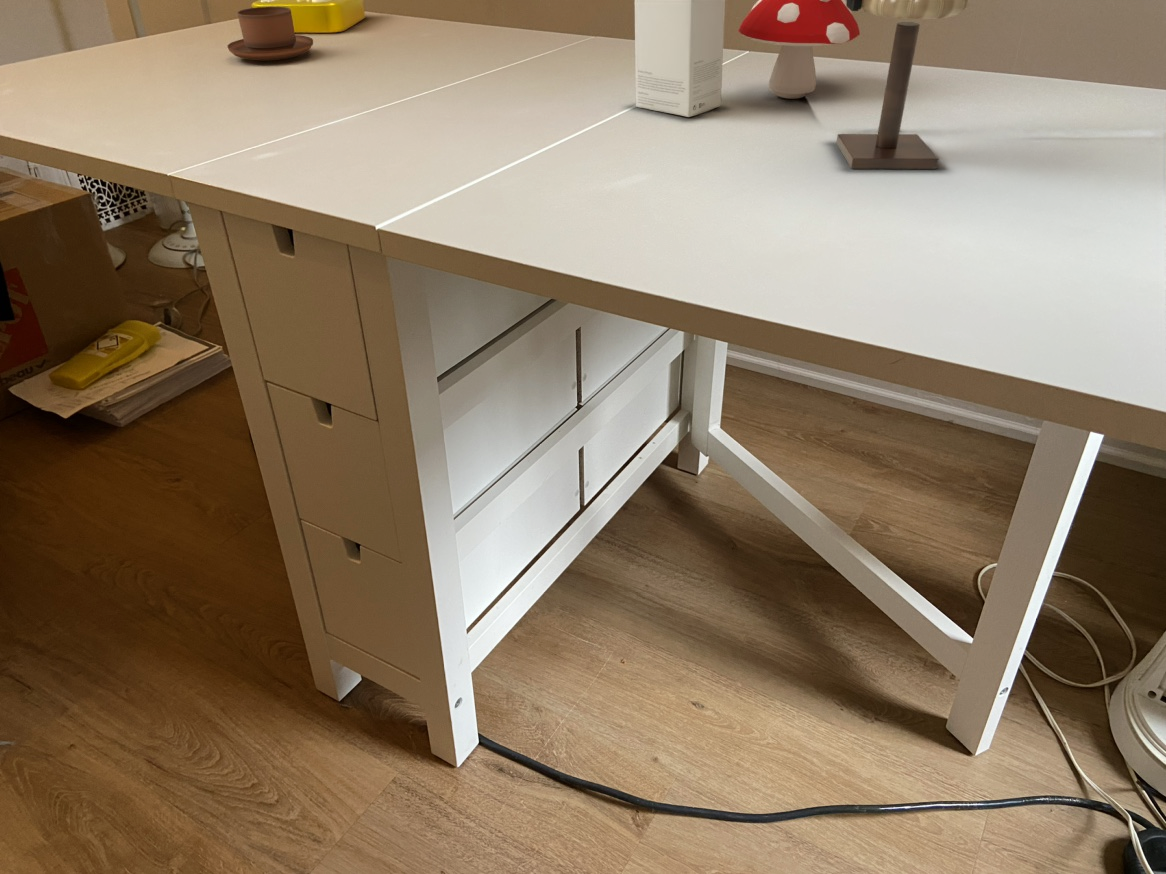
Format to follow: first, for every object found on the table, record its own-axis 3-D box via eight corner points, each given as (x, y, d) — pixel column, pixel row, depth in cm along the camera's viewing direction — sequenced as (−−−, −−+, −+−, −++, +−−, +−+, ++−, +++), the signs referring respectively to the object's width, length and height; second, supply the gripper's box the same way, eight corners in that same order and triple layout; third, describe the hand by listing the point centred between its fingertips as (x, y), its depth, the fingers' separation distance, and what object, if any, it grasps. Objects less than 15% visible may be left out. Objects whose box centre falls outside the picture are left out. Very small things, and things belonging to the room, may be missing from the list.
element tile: (368, 17, 154) (364, -14, 152) (341, 33, 142) (336, 0, 139) (286, 16, 156) (280, -14, 153) (252, 33, 144) (245, 1, 141)
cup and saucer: (216, 57, 129) (205, 11, 125) (291, 45, 135) (283, 1, 132) (252, 70, 121) (242, 21, 118) (330, 56, 128) (322, 10, 124)
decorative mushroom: (747, 79, 113) (758, -54, 104) (856, 87, 109) (878, -50, 100) (721, 106, 102) (732, -39, 94) (841, 116, 98) (864, -34, 90)
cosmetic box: (721, 108, 102) (732, -44, 93) (686, 120, 98) (694, -38, 89) (665, 96, 107) (671, -50, 98) (630, 107, 103) (632, -44, 94)
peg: (915, 143, 90) (941, 15, 83) (936, 169, 83) (966, 32, 76) (836, 143, 90) (855, 16, 83) (851, 168, 83) (873, 32, 77)
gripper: (998, -250, 71) (948, 0, 82) (798, -245, 72) (774, 2, 83) (1031, -257, 65) (973, 15, 76) (812, -251, 66) (785, 17, 76)
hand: (869, 6), depth 79 cm, fingers closed
